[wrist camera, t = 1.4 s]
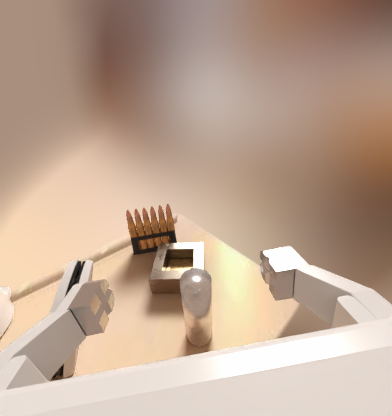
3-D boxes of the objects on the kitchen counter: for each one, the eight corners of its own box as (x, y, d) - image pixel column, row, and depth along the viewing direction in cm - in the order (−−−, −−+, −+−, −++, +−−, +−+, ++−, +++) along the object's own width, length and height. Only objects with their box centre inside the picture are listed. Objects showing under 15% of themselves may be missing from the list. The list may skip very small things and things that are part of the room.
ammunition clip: (134, 255, 46) (122, 212, 40) (134, 250, 47) (123, 208, 41) (177, 246, 47) (172, 205, 42) (176, 242, 49) (171, 201, 43)
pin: (185, 346, 28) (178, 294, 22) (187, 319, 31) (181, 268, 25) (212, 346, 28) (212, 294, 22) (211, 319, 31) (210, 267, 25)
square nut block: (152, 293, 36) (149, 279, 34) (161, 256, 45) (159, 243, 43) (204, 292, 35) (203, 278, 33) (203, 255, 44) (203, 242, 42)
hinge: (65, 288, 38) (65, 248, 34) (91, 286, 40) (94, 249, 36) (29, 392, 24) (24, 344, 20) (72, 382, 26) (75, 337, 22)
